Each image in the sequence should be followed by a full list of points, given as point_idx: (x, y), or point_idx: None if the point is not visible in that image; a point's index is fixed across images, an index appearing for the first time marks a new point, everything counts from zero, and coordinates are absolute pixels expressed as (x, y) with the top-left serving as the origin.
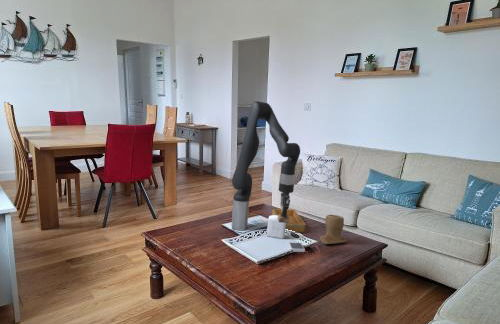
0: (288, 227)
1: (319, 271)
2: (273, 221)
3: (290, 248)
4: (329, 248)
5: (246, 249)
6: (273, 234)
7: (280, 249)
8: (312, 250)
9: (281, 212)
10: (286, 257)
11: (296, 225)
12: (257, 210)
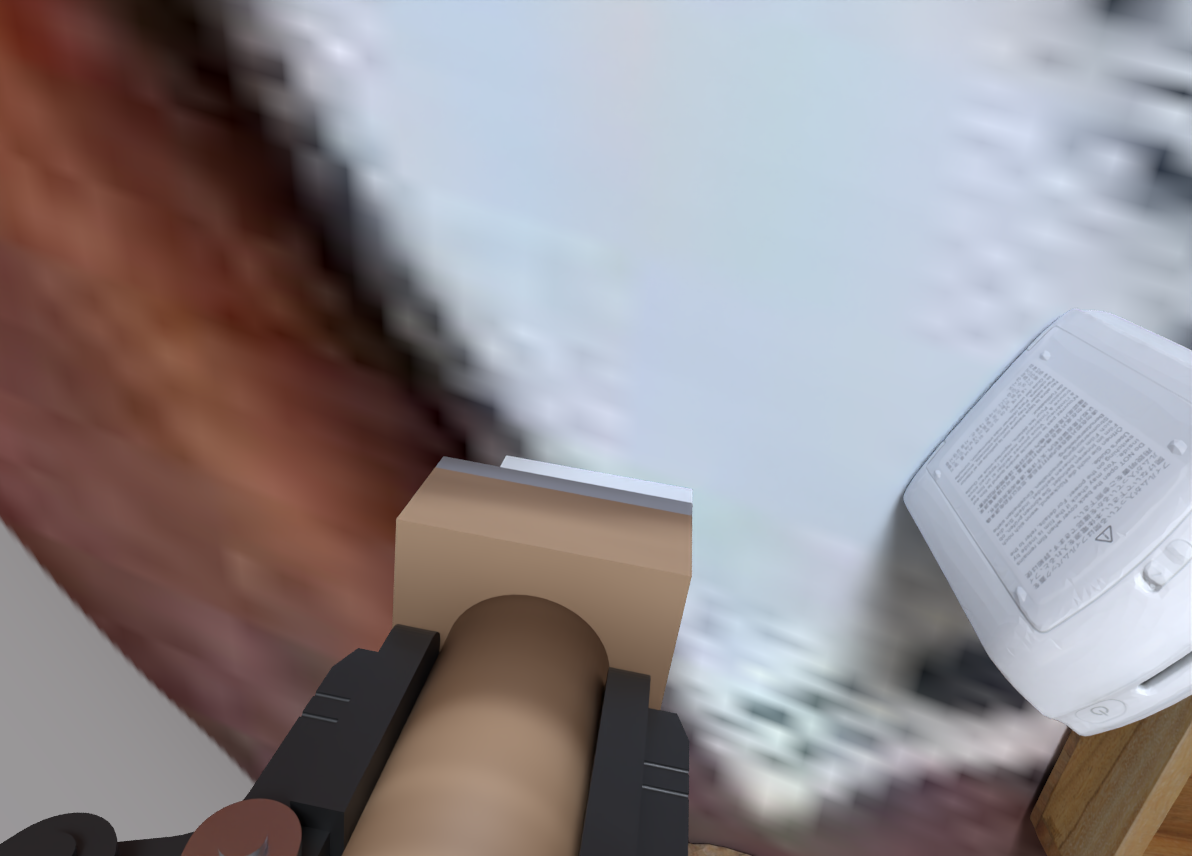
0: None
1: (81, 548)
2: (1142, 480)
3: (541, 471)
4: None
5: None
6: (1005, 398)
7: (573, 351)
8: None
9: (461, 682)
10: (348, 347)
11: (1125, 805)
12: None
